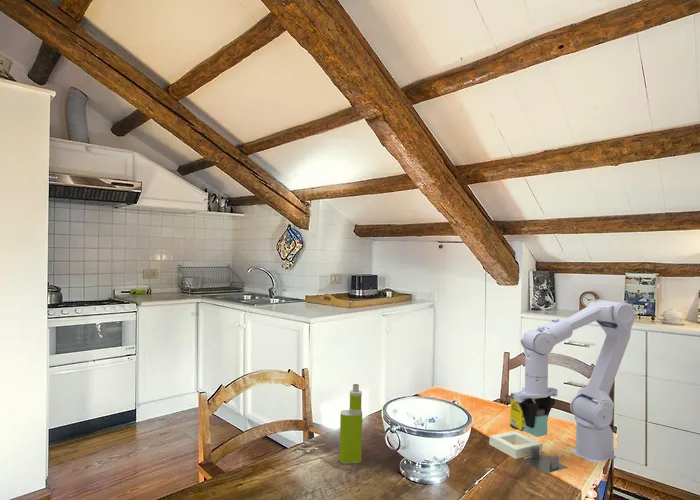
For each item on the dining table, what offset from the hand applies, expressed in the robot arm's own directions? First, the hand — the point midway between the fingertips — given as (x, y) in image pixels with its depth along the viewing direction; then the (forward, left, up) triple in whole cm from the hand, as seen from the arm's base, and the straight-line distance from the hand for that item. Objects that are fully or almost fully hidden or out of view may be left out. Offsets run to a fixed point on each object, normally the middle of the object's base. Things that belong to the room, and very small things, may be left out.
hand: (535, 425), depth 118 cm
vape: (+46, -20, -10) cm, 51 cm away
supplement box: (-15, -18, -10) cm, 26 cm away
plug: (0, 0, -2) cm, 2 cm away
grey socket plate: (0, +3, -10) cm, 10 cm away
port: (0, -7, -10) cm, 12 cm away
